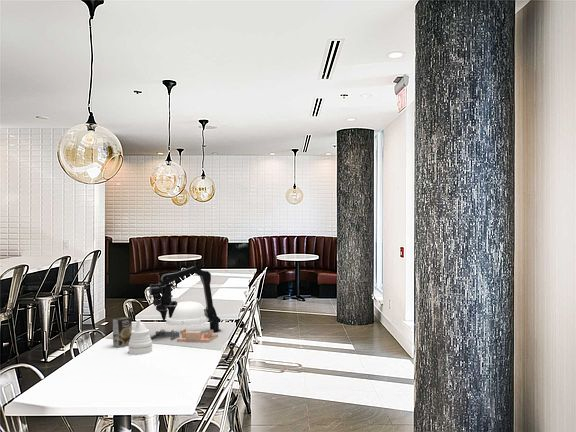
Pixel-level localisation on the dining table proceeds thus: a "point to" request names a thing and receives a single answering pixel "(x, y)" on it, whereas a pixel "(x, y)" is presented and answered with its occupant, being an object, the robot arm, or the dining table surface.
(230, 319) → the dining table surface
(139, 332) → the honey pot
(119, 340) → the coffee box
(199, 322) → the dome cover
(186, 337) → the display stand
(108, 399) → the dining table surface
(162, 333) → the glasses frame
